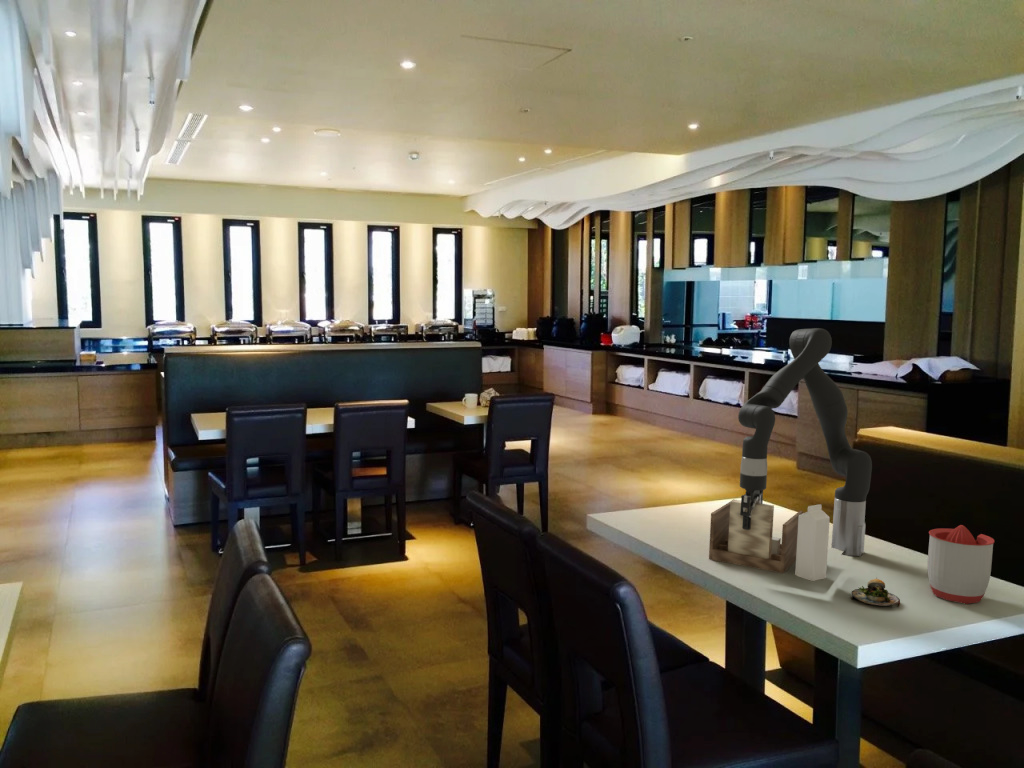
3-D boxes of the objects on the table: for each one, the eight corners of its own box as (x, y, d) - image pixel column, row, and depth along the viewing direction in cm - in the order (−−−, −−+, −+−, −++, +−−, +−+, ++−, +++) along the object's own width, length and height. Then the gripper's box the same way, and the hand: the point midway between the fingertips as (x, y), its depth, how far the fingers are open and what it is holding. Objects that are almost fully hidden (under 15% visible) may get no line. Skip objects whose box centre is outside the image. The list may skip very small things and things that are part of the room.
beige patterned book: (770, 565, 240) (774, 505, 238) (767, 568, 238) (771, 507, 236) (730, 557, 246) (733, 499, 245) (727, 560, 244) (730, 501, 242)
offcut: (779, 560, 245) (780, 538, 244) (776, 563, 242) (778, 540, 241) (762, 557, 247) (763, 535, 247) (759, 560, 245) (761, 537, 244)
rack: (800, 560, 250) (803, 511, 249) (783, 578, 233) (786, 525, 232) (729, 547, 262) (731, 500, 260) (708, 563, 245) (711, 513, 244)
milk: (825, 583, 230) (831, 506, 228) (812, 586, 227) (817, 509, 225) (807, 576, 235) (812, 501, 233) (793, 579, 232) (799, 504, 230)
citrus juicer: (999, 596, 223) (1005, 524, 221) (979, 612, 210) (985, 536, 209) (937, 581, 234) (943, 513, 232) (915, 595, 222) (920, 523, 220)
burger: (843, 601, 217) (845, 574, 216) (861, 591, 225) (863, 564, 224) (889, 614, 208) (891, 585, 208) (906, 603, 217) (908, 575, 216)
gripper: (759, 478, 231) (756, 533, 233) (773, 470, 243) (770, 523, 245) (733, 474, 235) (730, 529, 237) (748, 466, 247) (745, 519, 249)
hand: (750, 526), depth 241 cm, fingers open, 8 cm apart
